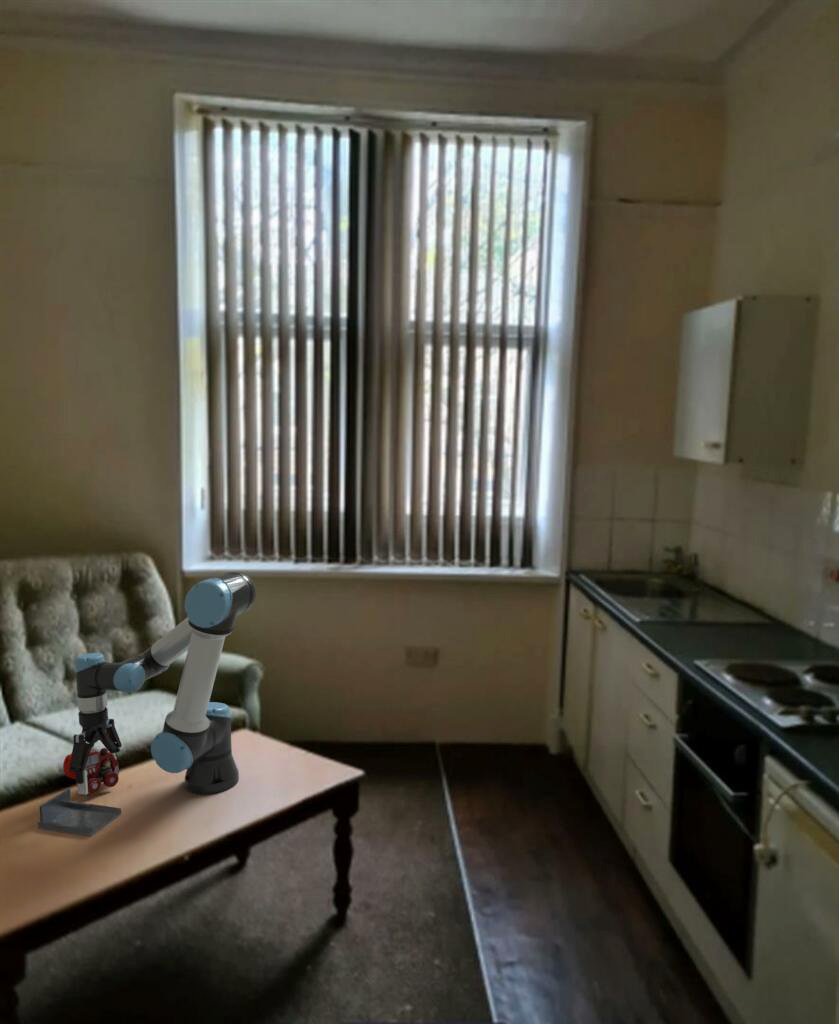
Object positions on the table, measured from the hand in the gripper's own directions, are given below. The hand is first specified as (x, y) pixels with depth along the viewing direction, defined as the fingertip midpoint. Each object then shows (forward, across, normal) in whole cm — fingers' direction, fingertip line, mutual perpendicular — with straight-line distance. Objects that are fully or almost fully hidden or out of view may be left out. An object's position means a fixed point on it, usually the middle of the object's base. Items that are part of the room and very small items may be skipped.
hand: (98, 784), depth 212 cm
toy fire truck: (+1, 0, 0) cm, 1 cm away
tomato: (+2, -7, -12) cm, 14 cm away
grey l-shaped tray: (+2, +16, +7) cm, 18 cm away
